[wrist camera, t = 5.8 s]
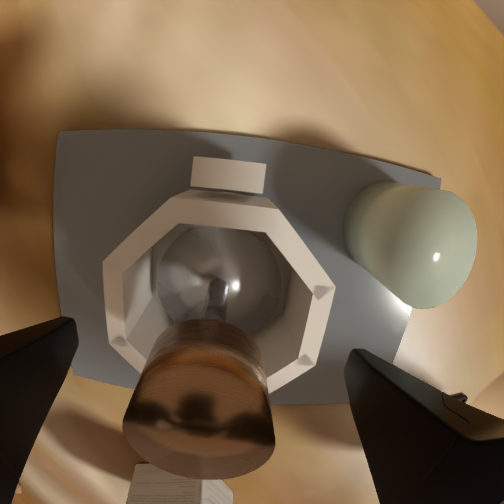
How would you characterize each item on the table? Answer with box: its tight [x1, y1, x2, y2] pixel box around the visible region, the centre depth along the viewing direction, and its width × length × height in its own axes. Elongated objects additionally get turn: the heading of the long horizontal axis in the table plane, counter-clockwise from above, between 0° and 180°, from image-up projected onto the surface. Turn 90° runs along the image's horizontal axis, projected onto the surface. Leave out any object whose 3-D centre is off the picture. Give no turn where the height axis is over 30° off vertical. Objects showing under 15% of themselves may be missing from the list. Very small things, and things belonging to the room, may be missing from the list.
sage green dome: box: [343, 182, 477, 309], centre depth 13 cm, size 5×5×5 cm
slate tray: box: [53, 129, 441, 405], centre depth 16 cm, size 22×16×1 cm
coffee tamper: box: [122, 225, 282, 480], centre depth 9 cm, size 6×6×9 cm
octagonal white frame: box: [103, 156, 336, 394], centre depth 13 cm, size 8×10×5 cm
